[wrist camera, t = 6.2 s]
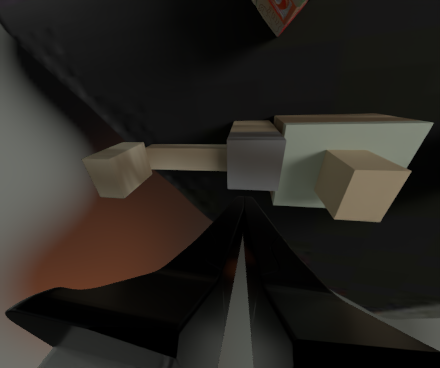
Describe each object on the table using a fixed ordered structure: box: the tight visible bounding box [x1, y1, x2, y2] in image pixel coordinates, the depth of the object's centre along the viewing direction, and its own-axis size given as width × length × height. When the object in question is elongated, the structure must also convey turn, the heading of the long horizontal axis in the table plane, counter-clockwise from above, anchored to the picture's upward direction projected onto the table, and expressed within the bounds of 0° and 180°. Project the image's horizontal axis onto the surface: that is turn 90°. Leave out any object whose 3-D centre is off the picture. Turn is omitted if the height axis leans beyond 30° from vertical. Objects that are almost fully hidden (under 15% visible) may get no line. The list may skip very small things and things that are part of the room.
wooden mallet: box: [82, 142, 227, 198], centre depth 12 cm, size 3×10×5 cm, turn 92°
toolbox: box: [227, 113, 419, 198], centre depth 16 cm, size 8×14×9 cm, turn 92°
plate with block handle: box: [272, 121, 434, 222], centre depth 13 cm, size 8×10×5 cm
